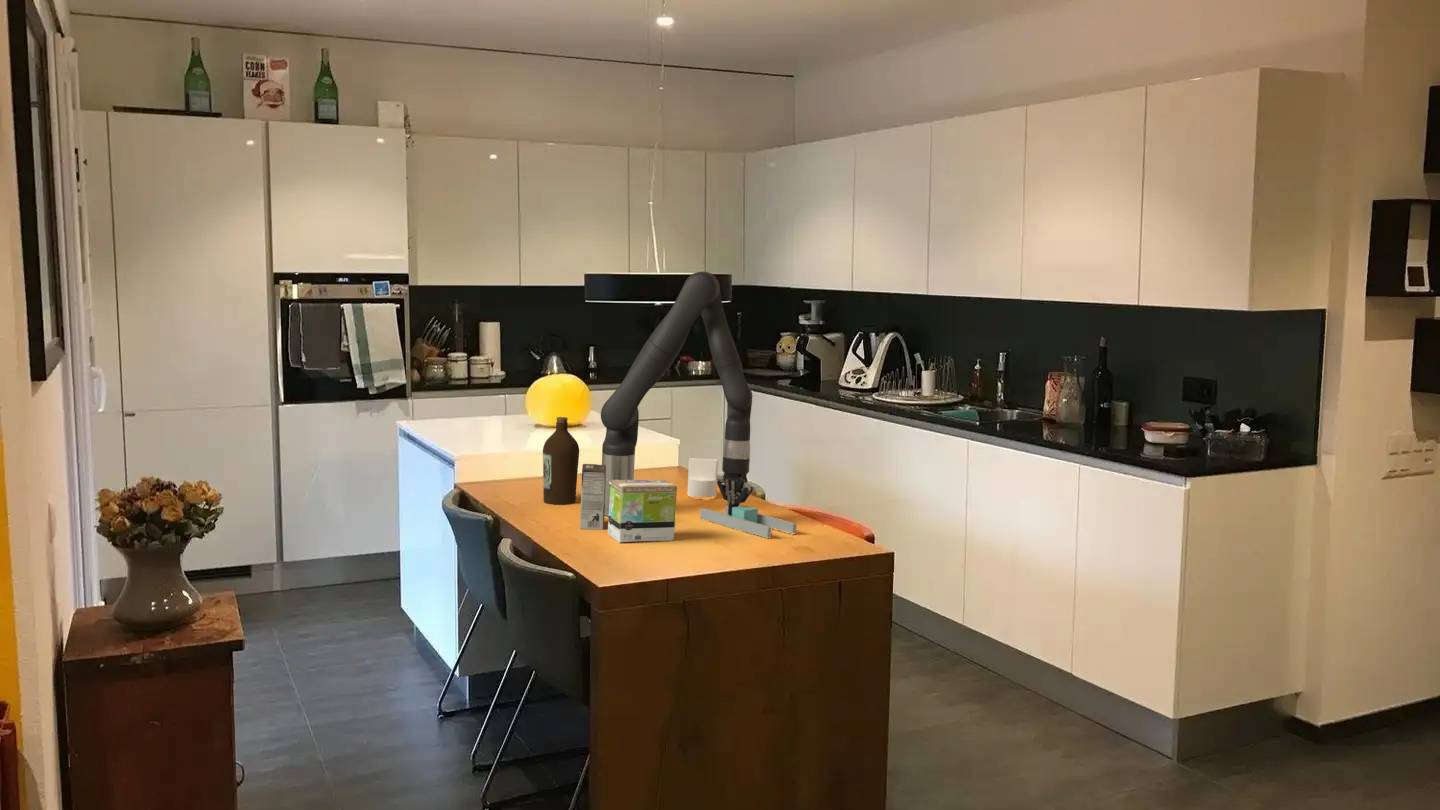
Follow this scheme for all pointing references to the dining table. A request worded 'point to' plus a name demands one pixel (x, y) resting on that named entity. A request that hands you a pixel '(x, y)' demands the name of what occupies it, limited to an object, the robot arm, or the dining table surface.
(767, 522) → the rails
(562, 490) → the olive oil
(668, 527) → the tea box
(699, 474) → the cylinder with rectangular tab
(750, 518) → the teal block
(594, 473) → the coffee box
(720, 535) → the dining table surface
